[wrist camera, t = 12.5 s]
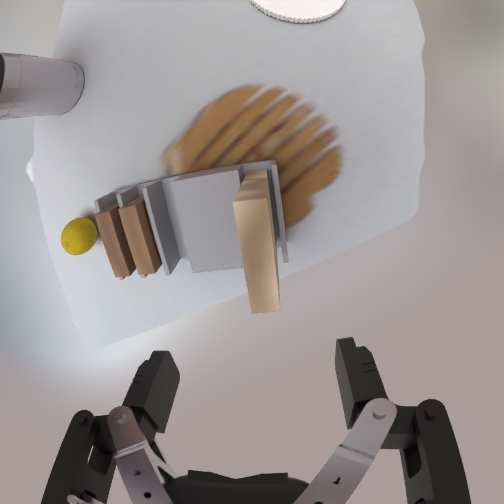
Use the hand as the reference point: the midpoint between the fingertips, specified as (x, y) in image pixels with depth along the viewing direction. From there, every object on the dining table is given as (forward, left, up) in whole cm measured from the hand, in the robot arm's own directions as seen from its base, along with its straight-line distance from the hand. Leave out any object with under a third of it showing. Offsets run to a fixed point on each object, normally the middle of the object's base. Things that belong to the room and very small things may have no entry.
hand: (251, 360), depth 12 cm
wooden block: (0, 0, -27) cm, 27 cm away
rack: (-9, 0, -28) cm, 30 cm away
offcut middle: (-15, 0, -27) cm, 31 cm away
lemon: (-28, +1, -28) cm, 40 cm away
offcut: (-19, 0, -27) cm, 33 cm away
